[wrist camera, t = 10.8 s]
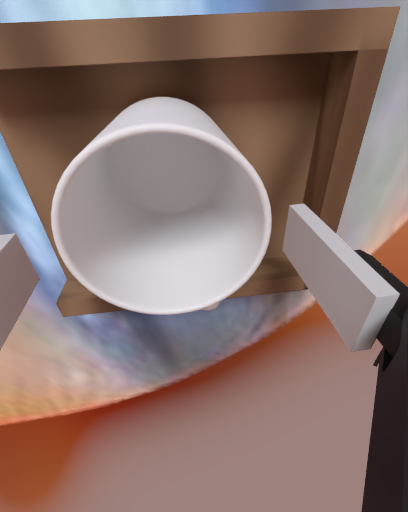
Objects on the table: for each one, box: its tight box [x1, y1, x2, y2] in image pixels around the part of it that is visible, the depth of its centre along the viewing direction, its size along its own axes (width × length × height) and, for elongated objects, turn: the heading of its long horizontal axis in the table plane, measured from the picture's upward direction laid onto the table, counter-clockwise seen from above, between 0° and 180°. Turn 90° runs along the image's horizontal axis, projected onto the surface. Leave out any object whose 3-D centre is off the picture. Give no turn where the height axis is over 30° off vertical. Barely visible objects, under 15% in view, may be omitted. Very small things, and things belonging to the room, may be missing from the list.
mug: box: [51, 97, 272, 315], centre depth 16 cm, size 12×8×10 cm
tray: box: [0, 7, 400, 317], centre depth 19 cm, size 22×18×4 cm
